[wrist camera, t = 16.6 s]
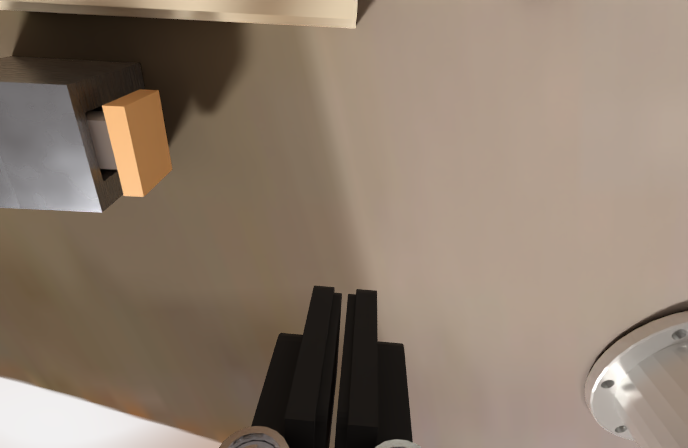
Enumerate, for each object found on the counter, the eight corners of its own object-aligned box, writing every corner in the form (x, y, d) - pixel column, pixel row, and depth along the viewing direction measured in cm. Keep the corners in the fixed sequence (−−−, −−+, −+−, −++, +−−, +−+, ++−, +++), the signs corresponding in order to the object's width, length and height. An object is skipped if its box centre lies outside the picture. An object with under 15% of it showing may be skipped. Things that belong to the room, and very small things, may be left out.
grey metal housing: (139, 62, 19) (66, 85, 14) (158, 163, 21) (102, 212, 16) (10, 56, 19) (-108, 76, 14) (45, 157, 21) (-47, 205, 16)
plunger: (158, 90, 17) (124, 106, 15) (172, 169, 19) (143, 196, 16) (45, 84, 17) (-10, 100, 14) (69, 164, 19) (24, 191, 16)
